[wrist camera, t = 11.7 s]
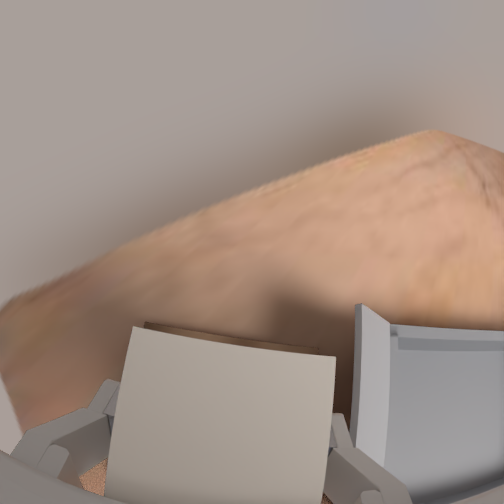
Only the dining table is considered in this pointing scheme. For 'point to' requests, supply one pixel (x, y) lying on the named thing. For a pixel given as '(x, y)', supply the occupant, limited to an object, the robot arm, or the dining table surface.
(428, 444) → the carton
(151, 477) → the block
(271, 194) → the dining table surface
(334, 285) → the dining table surface
